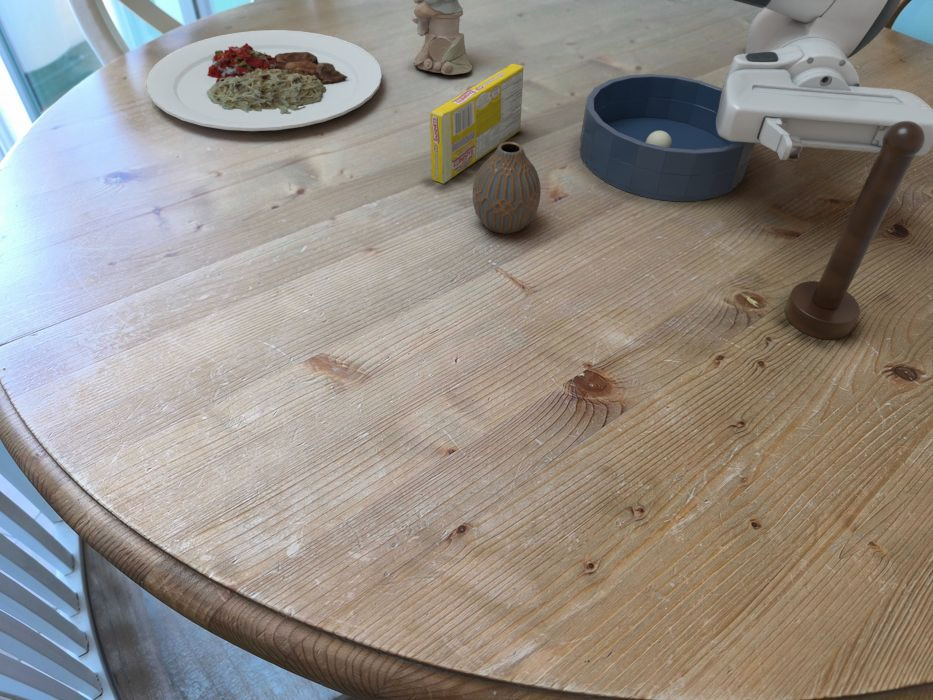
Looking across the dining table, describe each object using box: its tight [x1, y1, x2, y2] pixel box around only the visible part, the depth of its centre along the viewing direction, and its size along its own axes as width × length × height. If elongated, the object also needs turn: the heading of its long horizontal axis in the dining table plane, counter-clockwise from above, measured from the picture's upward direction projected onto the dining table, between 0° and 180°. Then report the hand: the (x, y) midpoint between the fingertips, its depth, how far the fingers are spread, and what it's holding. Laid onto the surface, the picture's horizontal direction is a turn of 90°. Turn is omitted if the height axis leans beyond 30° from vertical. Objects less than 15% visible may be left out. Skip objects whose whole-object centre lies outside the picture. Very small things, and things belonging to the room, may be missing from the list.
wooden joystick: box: [784, 121, 925, 340], centre depth 63 cm, size 6×6×19 cm
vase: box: [472, 141, 542, 235], centre depth 76 cm, size 7×7×9 cm
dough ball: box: [646, 131, 672, 148], centre depth 88 cm, size 3×3×3 cm
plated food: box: [145, 29, 383, 132], centre depth 98 cm, size 30×30×3 cm
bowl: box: [579, 73, 756, 202], centre depth 88 cm, size 20×20×6 cm
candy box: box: [429, 63, 524, 185], centre depth 86 cm, size 16×2×8 cm, turn 145°
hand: (845, 158), depth 67 cm, fingers open, 8 cm apart
